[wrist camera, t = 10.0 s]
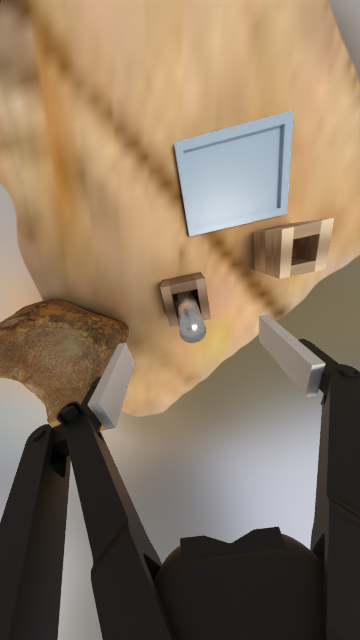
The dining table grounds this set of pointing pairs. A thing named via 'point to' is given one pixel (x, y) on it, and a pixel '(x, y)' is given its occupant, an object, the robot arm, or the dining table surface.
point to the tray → (236, 174)
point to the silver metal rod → (190, 318)
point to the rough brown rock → (58, 351)
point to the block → (293, 248)
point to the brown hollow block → (182, 285)
